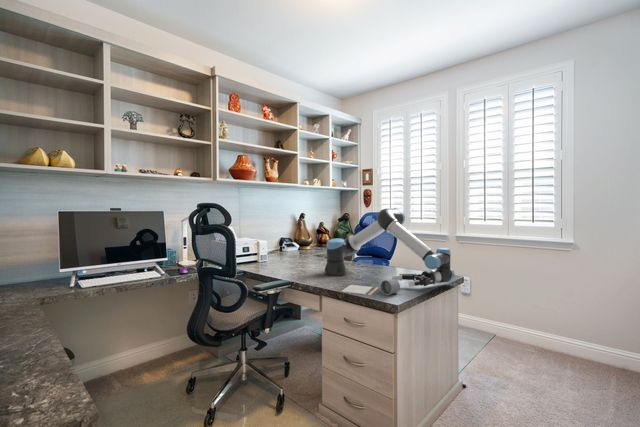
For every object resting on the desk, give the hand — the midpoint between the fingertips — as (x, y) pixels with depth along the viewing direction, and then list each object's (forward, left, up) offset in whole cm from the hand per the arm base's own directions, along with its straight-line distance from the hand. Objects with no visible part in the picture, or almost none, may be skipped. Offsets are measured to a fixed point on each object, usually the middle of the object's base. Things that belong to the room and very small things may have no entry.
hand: (400, 281), depth 174 cm
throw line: (+4, -14, -6) cm, 15 cm away
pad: (+4, -23, -6) cm, 24 cm away
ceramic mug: (+4, -6, -6) cm, 9 cm away
